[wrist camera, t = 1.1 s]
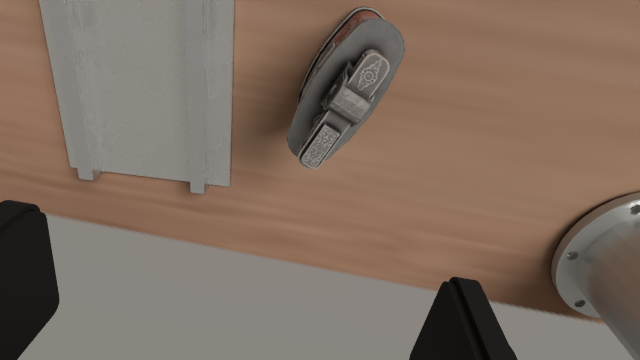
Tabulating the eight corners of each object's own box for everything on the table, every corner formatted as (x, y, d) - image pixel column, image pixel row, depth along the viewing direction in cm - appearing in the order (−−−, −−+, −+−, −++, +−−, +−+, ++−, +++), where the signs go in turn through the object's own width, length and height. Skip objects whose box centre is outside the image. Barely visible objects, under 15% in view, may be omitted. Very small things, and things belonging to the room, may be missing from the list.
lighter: (354, -6, 24) (367, 7, 15) (398, 26, 25) (434, 56, 16) (286, 101, 27) (265, 163, 19) (327, 127, 28) (325, 197, 19)
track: (237, -96, 22) (229, -101, 20) (230, 184, 31) (225, 196, 29) (19, -128, 22) (-7, -137, 20) (73, 164, 30) (58, 176, 28)
